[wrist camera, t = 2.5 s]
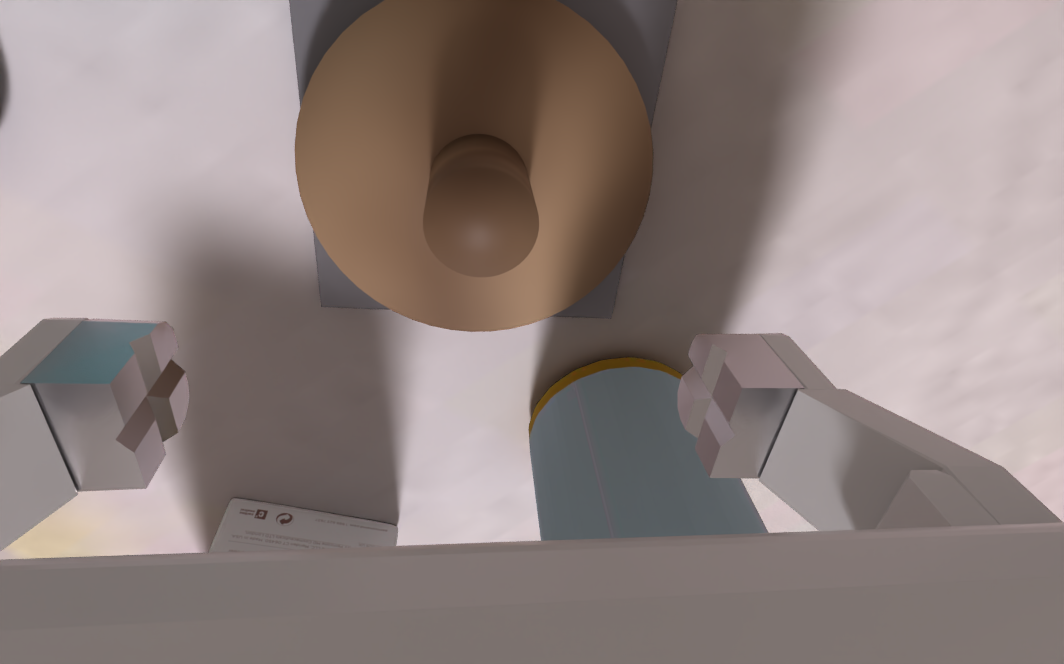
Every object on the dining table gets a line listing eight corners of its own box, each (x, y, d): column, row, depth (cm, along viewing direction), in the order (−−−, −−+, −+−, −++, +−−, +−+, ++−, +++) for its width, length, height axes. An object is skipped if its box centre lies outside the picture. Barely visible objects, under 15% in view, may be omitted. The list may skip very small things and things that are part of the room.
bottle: (634, 315, 22) (865, 824, 9) (725, 418, 25) (985, 896, 12) (491, 415, 24) (519, 944, 11) (592, 498, 27) (701, 979, 14)
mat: (673, -2, 16) (677, 0, 16) (609, 312, 21) (611, 318, 21) (288, -47, 15) (284, -47, 14) (323, 300, 20) (321, 306, 20)
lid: (677, 0, 16) (737, 15, 12) (611, 318, 21) (639, 392, 18) (285, -48, 14) (225, -45, 11) (321, 306, 20) (289, 383, 16)
